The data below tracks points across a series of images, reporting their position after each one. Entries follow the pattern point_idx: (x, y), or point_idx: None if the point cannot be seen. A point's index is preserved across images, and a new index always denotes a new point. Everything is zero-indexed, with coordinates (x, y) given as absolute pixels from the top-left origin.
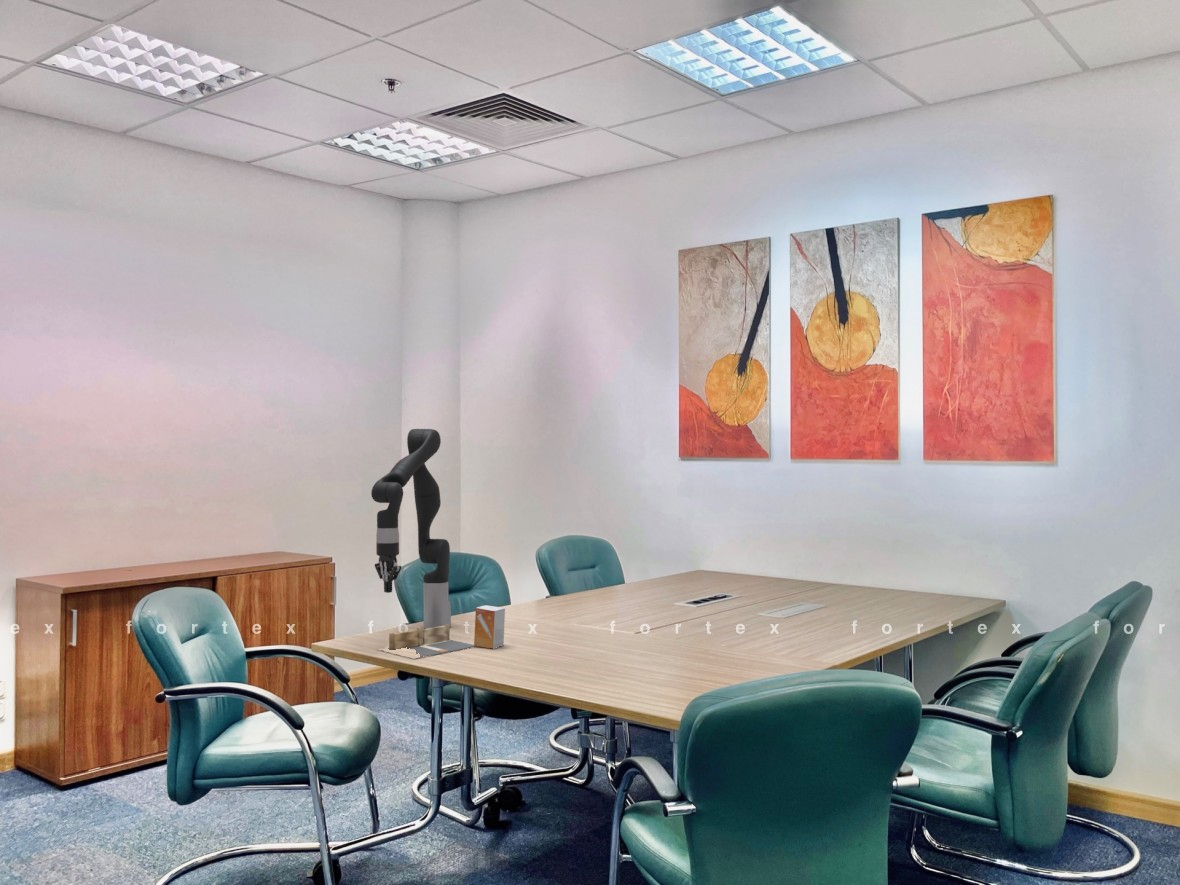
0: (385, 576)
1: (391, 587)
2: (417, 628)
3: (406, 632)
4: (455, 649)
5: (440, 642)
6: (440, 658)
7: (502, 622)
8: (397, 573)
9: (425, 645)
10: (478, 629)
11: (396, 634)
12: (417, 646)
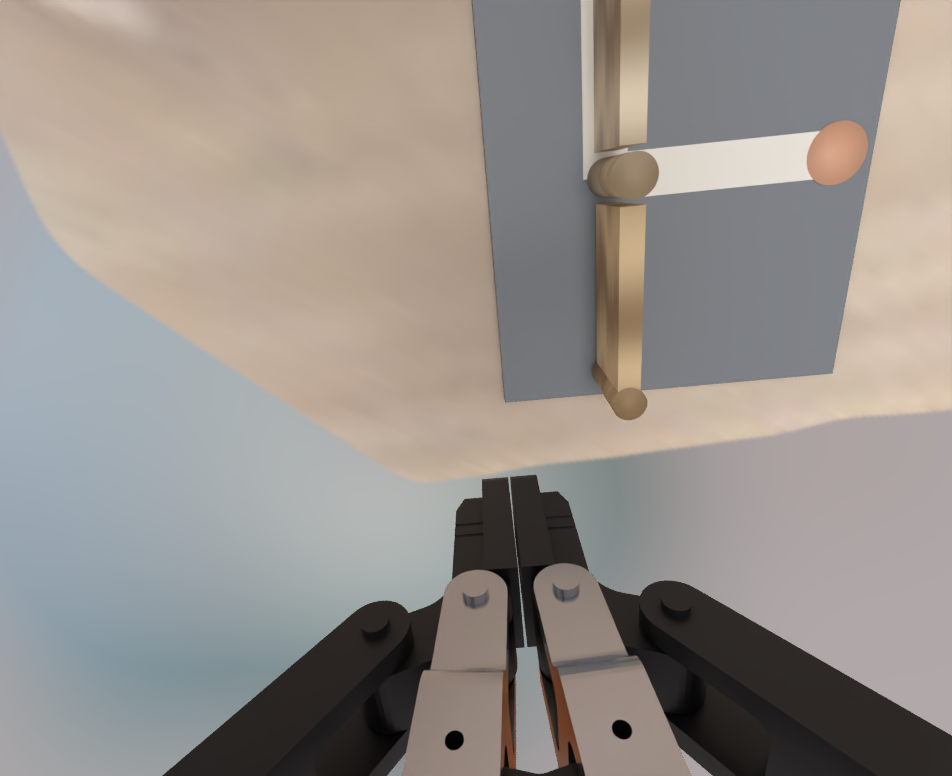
0: (513, 715)
1: (573, 527)
2: (619, 189)
3: (642, 303)
4: (876, 59)
5: None
6: (931, 255)
7: None
8: (860, 717)
9: None
10: None
11: (640, 378)
12: None
